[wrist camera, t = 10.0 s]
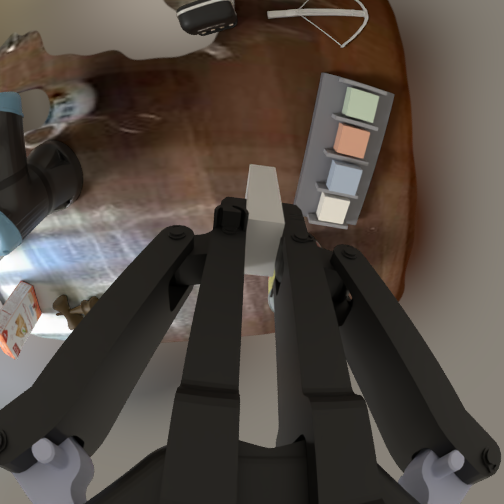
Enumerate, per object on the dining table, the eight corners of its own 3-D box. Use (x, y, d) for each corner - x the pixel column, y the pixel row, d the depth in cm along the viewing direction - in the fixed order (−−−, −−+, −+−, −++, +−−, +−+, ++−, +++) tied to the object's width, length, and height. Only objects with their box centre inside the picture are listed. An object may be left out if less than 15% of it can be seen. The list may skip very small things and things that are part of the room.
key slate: (326, 184, 44) (329, 190, 42) (332, 159, 42) (336, 164, 40) (350, 189, 45) (354, 195, 43) (357, 165, 42) (362, 170, 40)
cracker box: (42, 313, 76) (16, 361, 59) (30, 307, 75) (3, 353, 58) (34, 285, 68) (1, 335, 51) (21, 279, 67) (-12, 327, 50)
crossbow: (357, -16, 27) (362, -19, 25) (369, 48, 34) (374, 48, 33) (260, -16, 28) (261, -20, 26) (273, 51, 35) (275, 50, 34)
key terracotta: (333, 148, 42) (337, 152, 40) (339, 122, 39) (343, 125, 37) (358, 154, 42) (363, 158, 40) (365, 129, 39) (370, 132, 37)
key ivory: (316, 213, 49) (318, 220, 47) (322, 190, 46) (325, 196, 44) (339, 217, 49) (342, 224, 47) (346, 195, 46) (350, 201, 44)
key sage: (341, 112, 38) (346, 115, 36) (347, 86, 36) (352, 87, 34) (367, 120, 38) (372, 122, 36) (373, 94, 36) (379, 96, 34)
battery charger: (198, 42, 34) (178, 33, 25) (192, 22, 32) (170, 9, 23) (242, 29, 33) (236, 16, 24) (236, 9, 31) (227, -9, 22)
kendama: (111, 310, 72) (69, 318, 75) (91, 284, 66) (51, 296, 70) (103, 326, 67) (61, 332, 70) (82, 300, 62) (42, 310, 65)
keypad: (292, 209, 51) (294, 221, 48) (321, 72, 37) (327, 72, 33) (352, 219, 52) (359, 232, 48) (389, 93, 37) (401, 96, 34)
